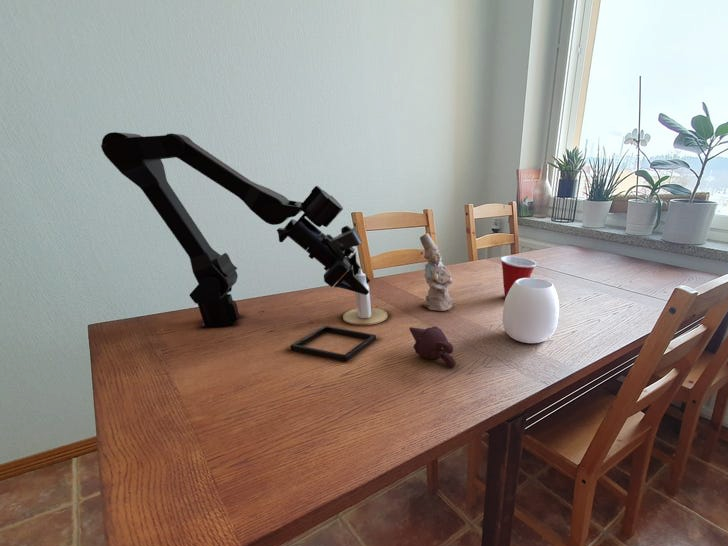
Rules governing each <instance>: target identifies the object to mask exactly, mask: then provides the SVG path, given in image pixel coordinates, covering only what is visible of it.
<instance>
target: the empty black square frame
mask: <svg viewBox="0 0 728 546" xmlns="http://www.w3.org/2000/svg"><path fill="white" fill-rule="evenodd" d="M325 333H331V334H337V335H342V336H346V337H347V336H348V337H351V338H352V337H353V338H356V339H357V338H358V339H362V340H364V341H362V342H361V343H359V344H358V345H356V346H355V347H354V348H352V349H351V350H350V351H348V352H347V353H345V354H344V353H343V354H342V353H339V352H333V351H329V350H323V349H318V348H315V347H308V346H305V345H306V344H308V343H310V342H311V341H313V340H315V339H316V338H319V337H320V336H321V335H323V334H325ZM376 340H377V334H372V333H368V332H361V331H356V330H352V329H346V328H341V327H336V326H330V325H324V326H322V327H319V328H318V329H317V330H315V331H313V332H311V333H309V334H308V335H305V336H304V337H303V338H301V339H299V340H297V341H296V342H294V343H292V344H290V345H289V346H290V350H291V351H293V352H298V353H303V354H309V355H313V356H318V357H322V358H326V359H332V360H337V361H341V362H344V363H345V362H346V363H347V362H348V361H350V360H351V359H352V358H355V356H357V355H358V354H359V353H361V352H362V351H363V350H365V349H366V348H367V347H369V346H370V345H371V344H372V343H374V342H375V341H376Z"/></svg>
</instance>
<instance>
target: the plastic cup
mask: <svg viewBox="0 0 728 546" xmlns="http://www.w3.org/2000/svg"><path fill="white" fill-rule="evenodd" d="M500 262H501V270H502V281H503V290H504V292H503V293H504V298H505V299H506V296H507V294H508V292H509V290H510V288H511V287H512V285H513V284H514V282H515V281H516V280H518V279H521V278H531V277H532V276H531V275H532V273H533V271H534V269H535V267H537V263H538V262H536V261H534V260H532V259H528V258H526V257H521V256H513V255H505V256H501V257H500Z"/></svg>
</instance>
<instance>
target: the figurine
mask: <svg viewBox="0 0 728 546" xmlns="http://www.w3.org/2000/svg"><path fill="white" fill-rule="evenodd" d="M419 240H420V243H421V245H422V247H423V249H424V255H423V258H424V259H425V260H427V263H426V264H425V266H424V278H425V283H426V284H427V285H428V286H429V289H428V290H427V292H428V293H427V295H425V300H424V302H422V306H424V307H426V308H427V309H428V310H430V311H437V312H438V311H439V312H445V311H447V310H448V311H449V310H450V309H451V308H452V307H453V300H452V299H451V293H450V291H449V290H448V287H449V286H450V285H451V284H453V279H452V274H451V272H450V270H449V269H448V267H447V266H445V265H444V263H443V262H442V260H443V259H442V258H443V254H441V253H440V248H439V247H438V246H437V245H436V243H435V242H434V240H433V239H432V237H431V235H430V234H429V233H428V232H427V233H425V234H423V235H421V236H420V237H419Z"/></svg>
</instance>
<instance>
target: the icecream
mask: <svg viewBox="0 0 728 546" xmlns="http://www.w3.org/2000/svg"><path fill="white" fill-rule="evenodd" d="M408 330H409V332H410V333H411V335H412V337H413V339H414V341H415V342H414V344H413V349H414V351H415V353H416V354H418V356H420V357H421V358H422V357H423V358H425V359H427V360H438V359H440V358H441V361H443V362H444V364H446V365H447V366H448V367H450V368H454V367H456V365H457V363H456V360H455V358H454V357H453V356H451V354H452V353H453V352H454V345H453V344H452V343H451V342H449V341H448V340H449V339H448V338H447V337H446V335H445V333H444V332H443V331H442V329H441V328H439V327H438V326H432V327H431V326H430V327H427V328H419V327H411V326H410V327H409V329H408Z"/></svg>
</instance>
